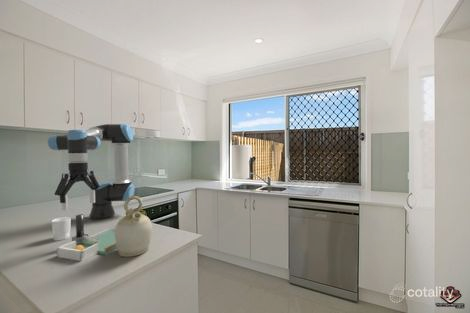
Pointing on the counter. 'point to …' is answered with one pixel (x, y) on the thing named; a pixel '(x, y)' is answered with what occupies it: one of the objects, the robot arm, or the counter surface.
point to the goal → (76, 251)
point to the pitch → (103, 242)
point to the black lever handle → (80, 232)
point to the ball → (79, 247)
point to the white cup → (61, 228)
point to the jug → (133, 231)
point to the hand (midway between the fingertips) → (79, 205)
